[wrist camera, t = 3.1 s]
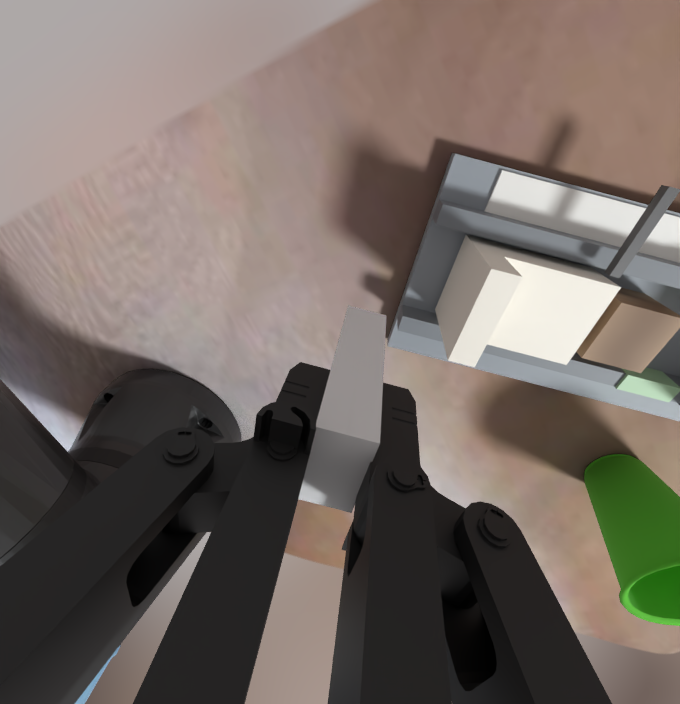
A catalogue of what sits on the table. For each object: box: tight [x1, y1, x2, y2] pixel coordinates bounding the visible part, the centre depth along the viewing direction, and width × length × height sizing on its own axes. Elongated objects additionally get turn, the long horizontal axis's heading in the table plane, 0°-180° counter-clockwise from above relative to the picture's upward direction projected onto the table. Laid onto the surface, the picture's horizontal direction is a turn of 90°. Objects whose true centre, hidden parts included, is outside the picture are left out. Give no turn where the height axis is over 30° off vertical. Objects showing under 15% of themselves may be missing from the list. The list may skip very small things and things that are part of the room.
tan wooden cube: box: [576, 288, 680, 373], centre depth 23 cm, size 4×4×4 cm
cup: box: [584, 454, 680, 626], centre depth 30 cm, size 9×9×11 cm
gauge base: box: [388, 153, 680, 421], centre depth 23 cm, size 26×14×8 cm, turn 77°
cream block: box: [435, 185, 680, 367], centre depth 20 cm, size 9×11×7 cm
